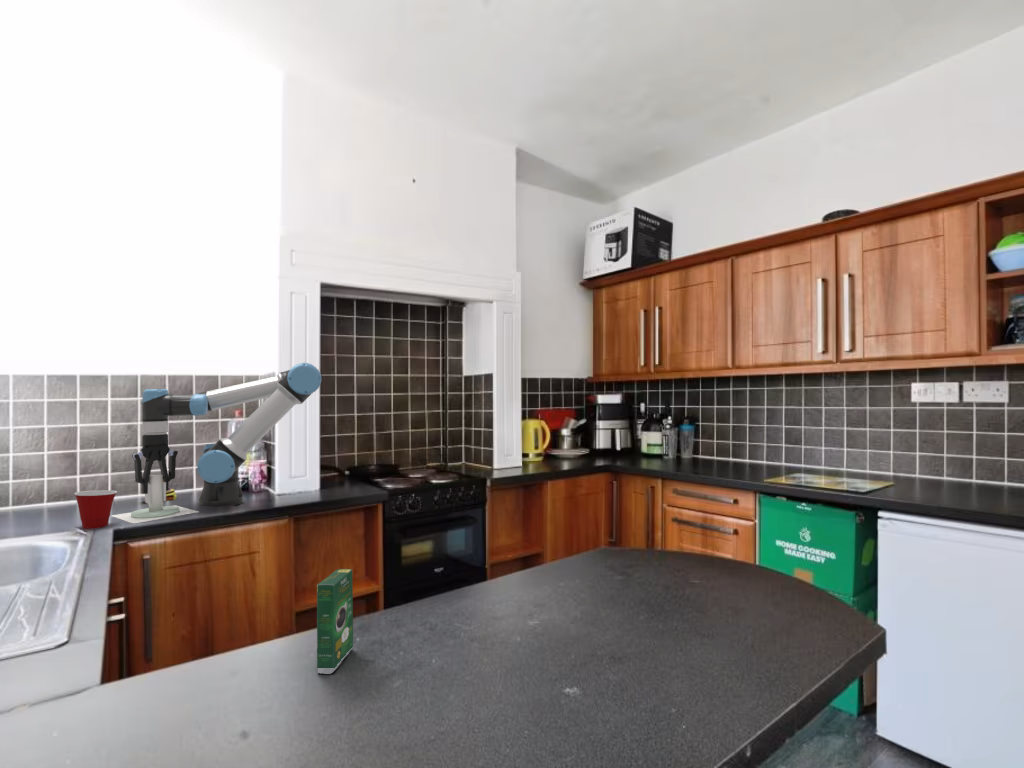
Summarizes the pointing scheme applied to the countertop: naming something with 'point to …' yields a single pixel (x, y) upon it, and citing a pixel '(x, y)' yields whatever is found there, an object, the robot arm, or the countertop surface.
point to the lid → (155, 501)
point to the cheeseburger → (170, 494)
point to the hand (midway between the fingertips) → (155, 501)
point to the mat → (130, 519)
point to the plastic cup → (95, 507)
